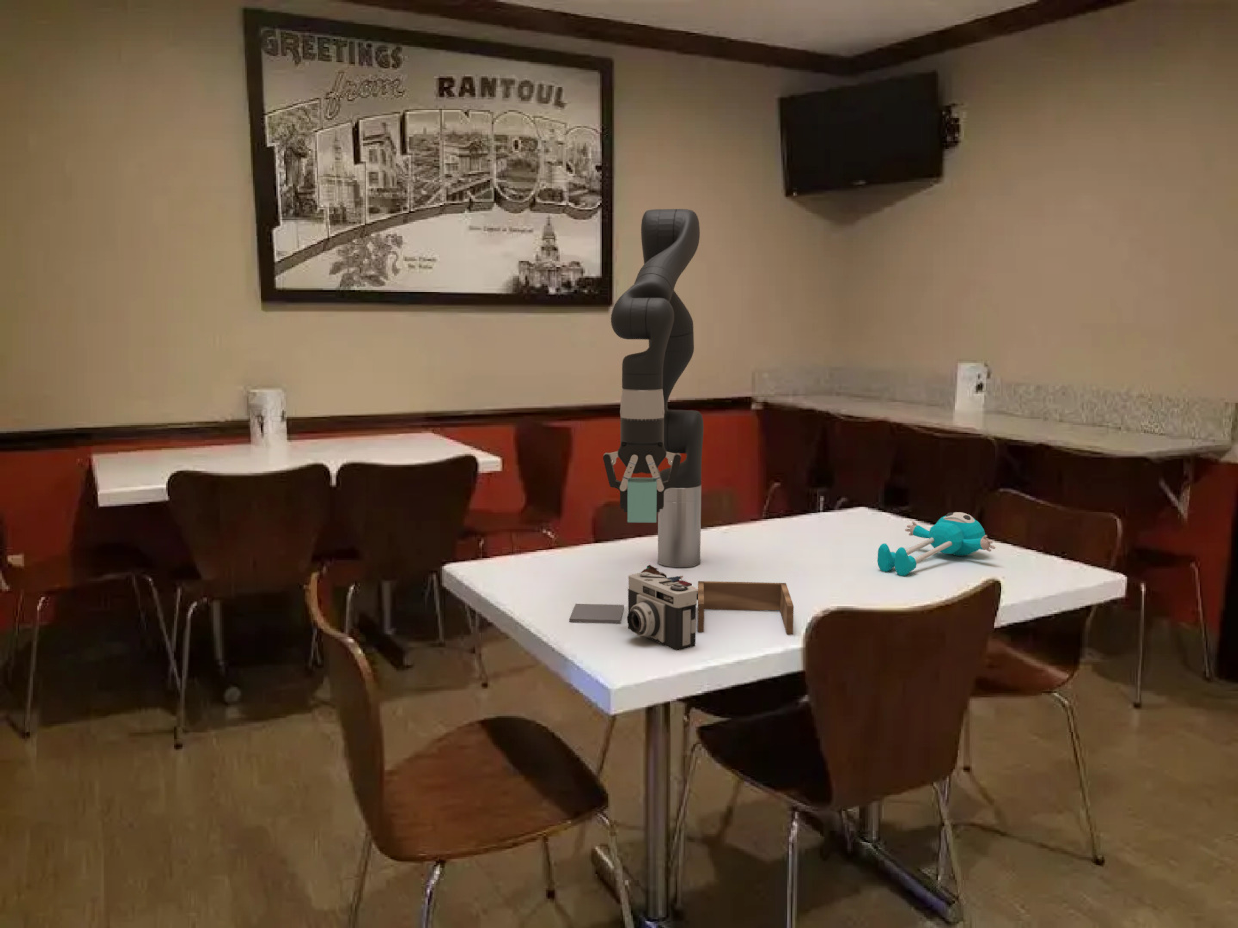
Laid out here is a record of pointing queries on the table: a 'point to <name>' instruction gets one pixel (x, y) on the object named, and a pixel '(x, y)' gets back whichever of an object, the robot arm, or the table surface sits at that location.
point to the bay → (745, 599)
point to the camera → (662, 610)
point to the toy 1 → (673, 579)
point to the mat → (597, 613)
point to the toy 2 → (937, 542)
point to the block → (642, 500)
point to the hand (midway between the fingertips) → (641, 511)
